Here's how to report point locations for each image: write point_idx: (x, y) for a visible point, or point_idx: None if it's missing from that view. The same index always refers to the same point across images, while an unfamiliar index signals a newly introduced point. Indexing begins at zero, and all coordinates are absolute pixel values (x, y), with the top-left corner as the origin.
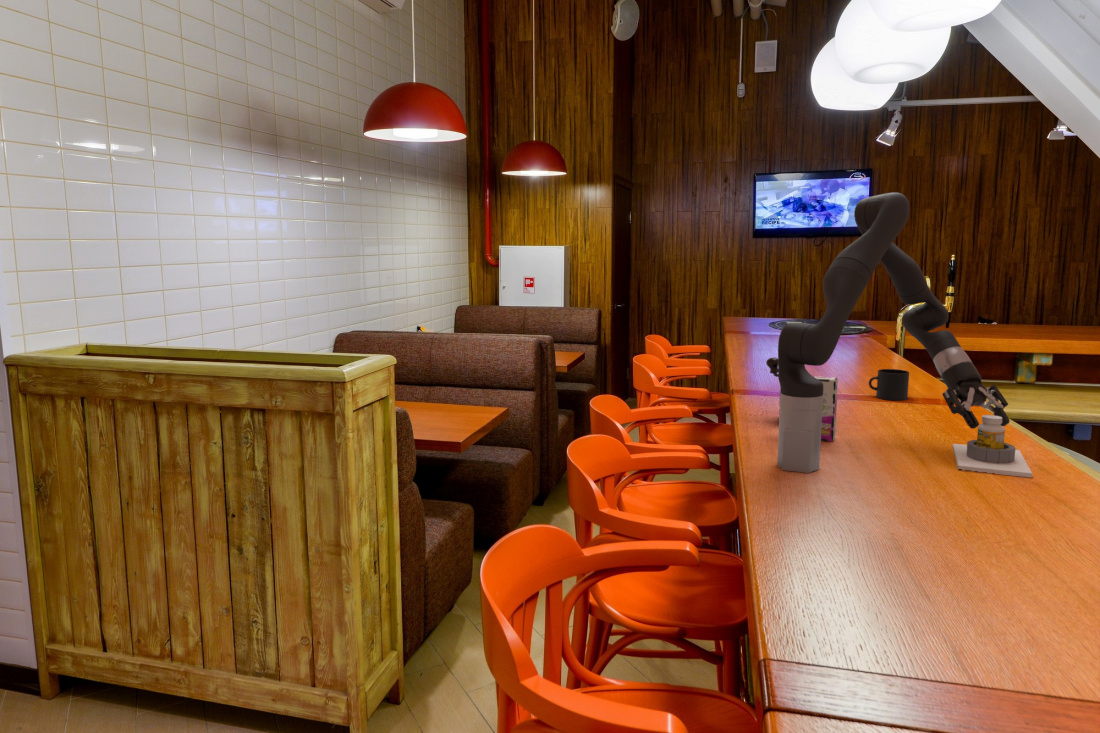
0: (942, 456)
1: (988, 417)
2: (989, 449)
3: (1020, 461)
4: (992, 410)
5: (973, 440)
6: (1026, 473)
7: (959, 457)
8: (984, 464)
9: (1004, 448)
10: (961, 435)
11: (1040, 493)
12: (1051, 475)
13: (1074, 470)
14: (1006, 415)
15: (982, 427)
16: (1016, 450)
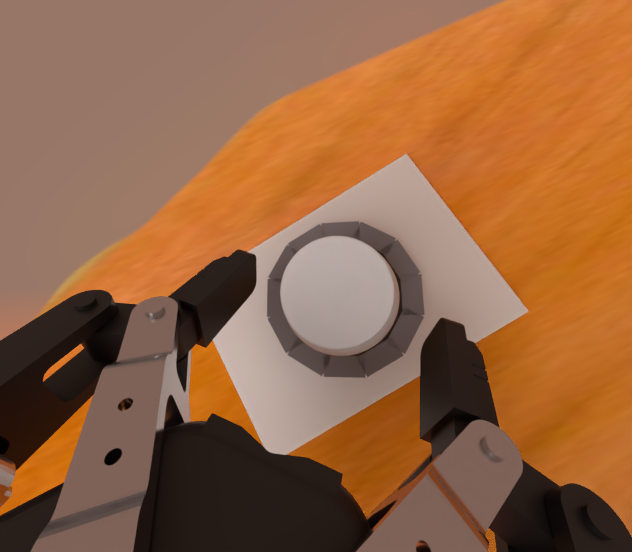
0: (411, 423)
1: (380, 293)
2: (411, 267)
3: (312, 226)
4: (187, 361)
5: (329, 370)
6: (413, 165)
7: None
8: (438, 269)
9: None
10: None
11: (520, 88)
12: (337, 148)
13: (246, 142)
14: (201, 273)
15: (395, 315)
16: None
